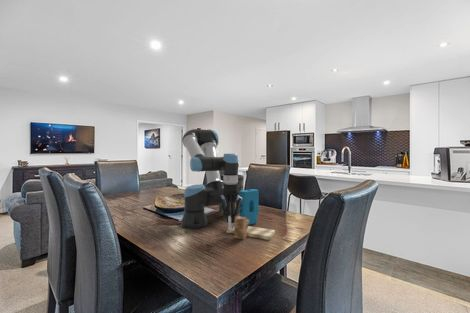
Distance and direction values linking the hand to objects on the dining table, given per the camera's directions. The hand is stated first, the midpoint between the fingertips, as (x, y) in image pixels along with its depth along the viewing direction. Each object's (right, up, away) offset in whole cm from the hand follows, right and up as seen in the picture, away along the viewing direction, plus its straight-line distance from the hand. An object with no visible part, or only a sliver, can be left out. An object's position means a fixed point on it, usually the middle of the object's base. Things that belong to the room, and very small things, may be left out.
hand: (230, 228), depth 116 cm
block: (+11, -4, +21) cm, 24 cm away
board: (+11, -4, +4) cm, 12 cm away
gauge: (+7, -4, +1) cm, 8 cm away
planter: (-2, -3, +44) cm, 44 cm away
